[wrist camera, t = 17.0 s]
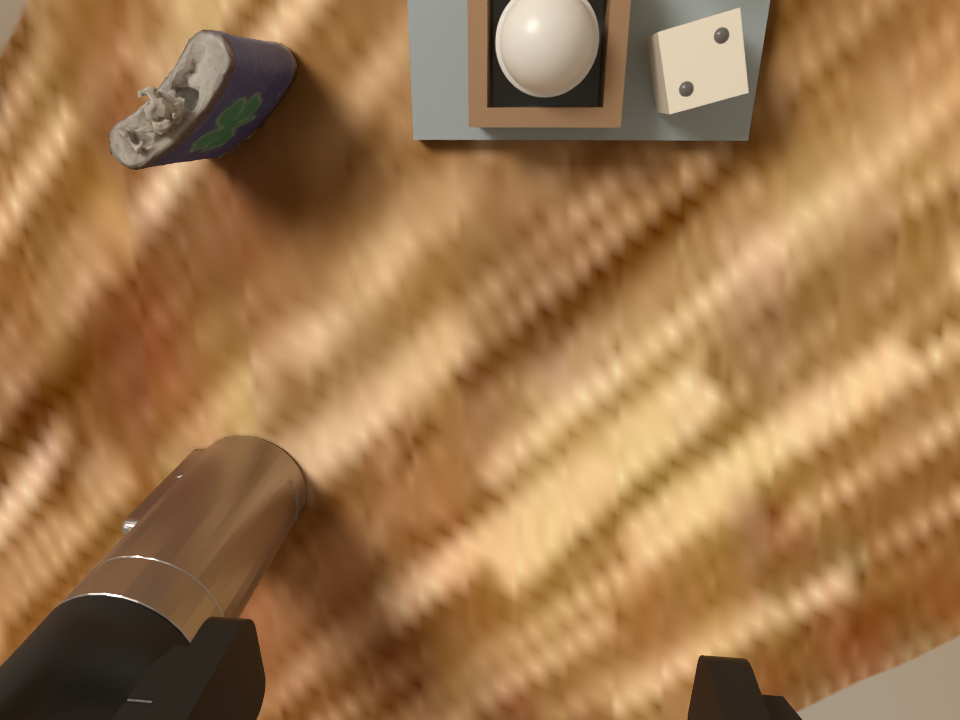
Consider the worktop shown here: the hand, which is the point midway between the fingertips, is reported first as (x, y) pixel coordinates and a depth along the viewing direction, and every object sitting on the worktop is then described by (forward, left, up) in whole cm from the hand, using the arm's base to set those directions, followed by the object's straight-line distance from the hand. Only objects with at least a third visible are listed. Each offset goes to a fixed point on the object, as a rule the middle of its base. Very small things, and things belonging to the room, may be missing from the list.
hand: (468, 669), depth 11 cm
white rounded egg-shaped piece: (+1, +12, -31) cm, 33 cm away
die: (+9, +11, -32) cm, 35 cm away
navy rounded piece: (-18, +9, -33) cm, 39 cm away
